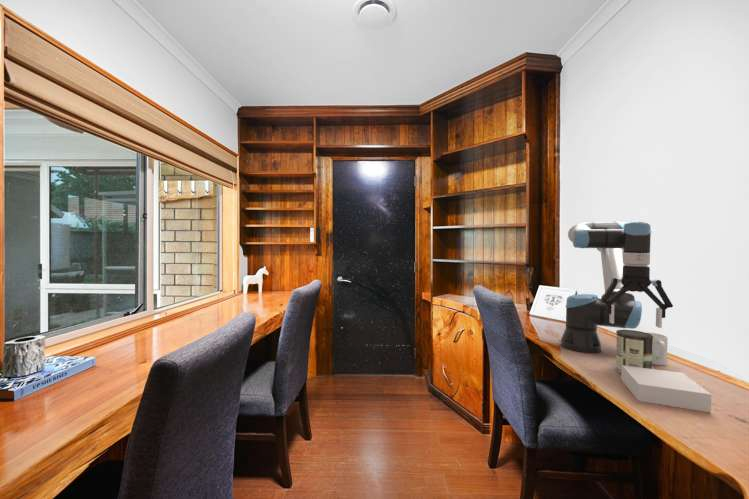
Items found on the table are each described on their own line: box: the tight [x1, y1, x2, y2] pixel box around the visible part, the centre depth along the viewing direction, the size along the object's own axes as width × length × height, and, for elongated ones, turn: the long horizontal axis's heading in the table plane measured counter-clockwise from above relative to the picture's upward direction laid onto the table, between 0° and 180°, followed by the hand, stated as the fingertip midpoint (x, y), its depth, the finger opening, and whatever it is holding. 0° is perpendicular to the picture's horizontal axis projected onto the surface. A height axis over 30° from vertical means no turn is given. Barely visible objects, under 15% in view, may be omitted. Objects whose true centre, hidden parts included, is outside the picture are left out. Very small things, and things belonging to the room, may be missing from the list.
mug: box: [645, 331, 669, 366], centre depth 125 cm, size 12×8×10 cm, turn 159°
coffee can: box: [615, 329, 653, 374], centre depth 117 cm, size 10×10×14 cm
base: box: [621, 365, 712, 413], centre depth 99 cm, size 16×16×5 cm
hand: (634, 325), depth 116 cm, fingers open, 13 cm apart
